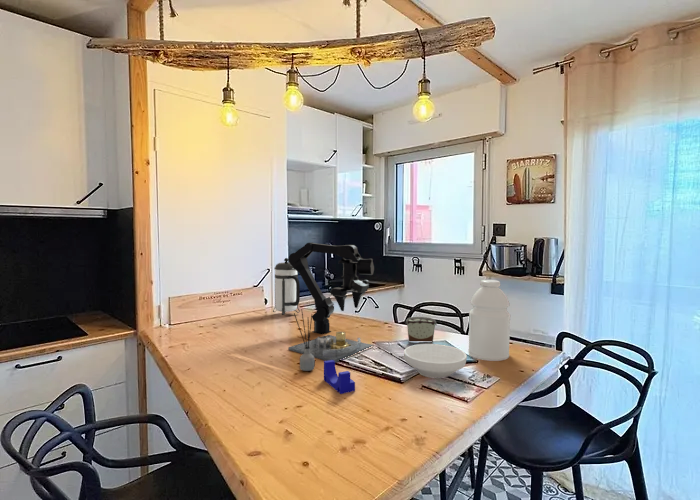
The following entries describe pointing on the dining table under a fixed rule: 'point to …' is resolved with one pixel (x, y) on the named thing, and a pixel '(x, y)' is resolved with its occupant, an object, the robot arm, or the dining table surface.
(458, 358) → the bowl
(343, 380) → the blue u-shaped block
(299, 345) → the carrier plate
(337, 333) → the gear
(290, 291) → the coffee press
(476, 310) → the bottle
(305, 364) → the reed diffuser
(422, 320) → the food container
